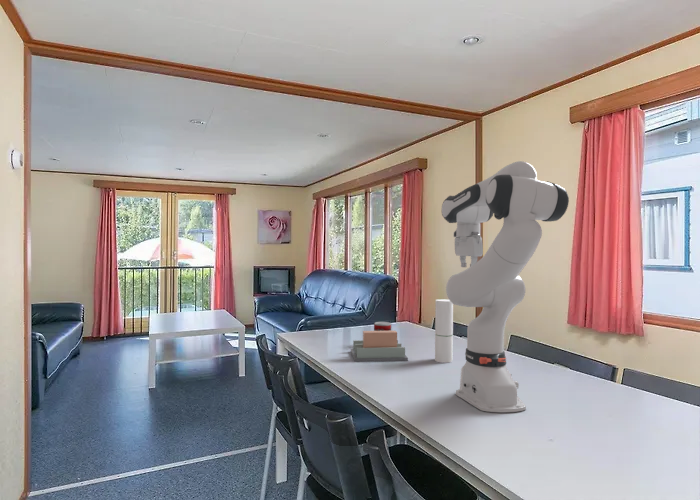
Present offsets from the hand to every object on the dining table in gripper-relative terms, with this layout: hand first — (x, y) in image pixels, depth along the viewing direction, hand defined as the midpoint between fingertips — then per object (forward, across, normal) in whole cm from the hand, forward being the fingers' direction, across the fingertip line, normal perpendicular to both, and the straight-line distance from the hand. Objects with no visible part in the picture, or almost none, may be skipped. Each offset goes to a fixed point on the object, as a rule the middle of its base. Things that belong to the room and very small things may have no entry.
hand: (468, 267), depth 167 cm
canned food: (+39, +38, +27) cm, 61 cm away
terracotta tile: (+38, +16, +32) cm, 52 cm away
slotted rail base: (+39, +20, +32) cm, 54 cm away
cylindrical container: (+39, +11, +6) cm, 41 cm away
